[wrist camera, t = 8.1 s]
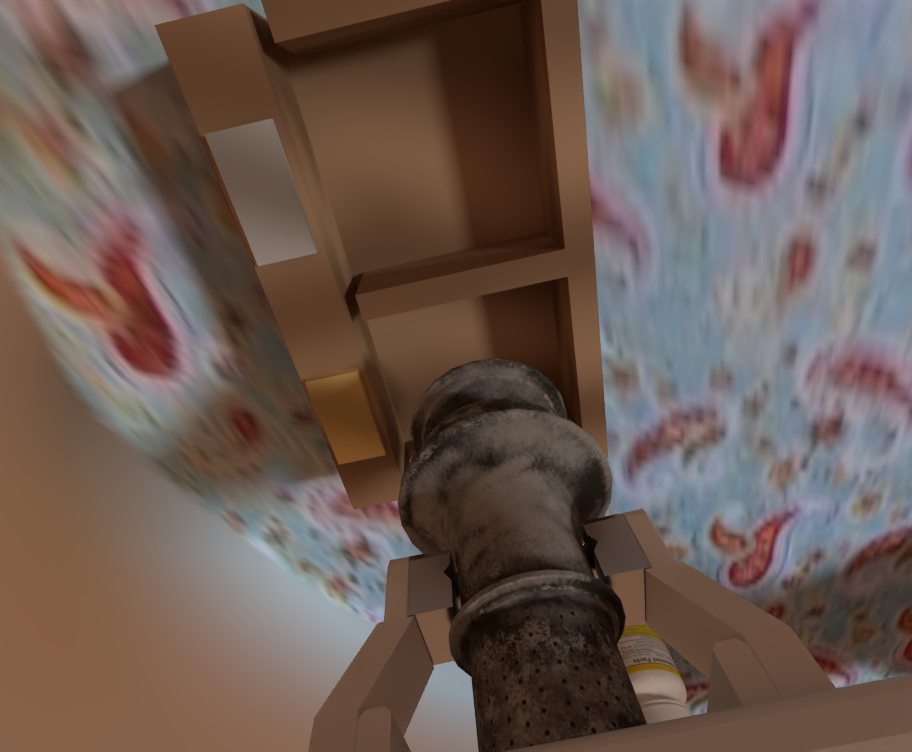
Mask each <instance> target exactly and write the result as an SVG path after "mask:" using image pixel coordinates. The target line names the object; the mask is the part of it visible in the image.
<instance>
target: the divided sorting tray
mask: <svg viewBox="0 0 912 752" xmlns="http://www.w3.org/2000/svg"><path fill="white" fill-rule="evenodd" d="M261 1H262V4H263V8H264V11H265V14H266V17H267V19H265V18H264V17H262V16H261V15H259V14H258V13H256V12H255V11H253V10H252V9H250V8H249V7H247V6H246V5H244V4H239V5H235V6H231V7H227V8H223V9H219V10H215V11H211V12H206V13H202V14H198V15H194V16H190V17H186V18H182V19H178V20H174V21H170V22H166V23H162V24H158V25H155V27H156V30H157V32H158V35H159V37H160V40H161V42H162V45H163V47H164V49H165V52H166V54H167V57H168V59H169V62H170V64H171V66H172V69H173V71H174V74H175V76H176V79H177V81H178V83H179V86H180V88H181V91H182V93H183V96H184V98H185V100H186V103H187V105H188V108H189V110H190V113H191V115H192V117H193V120H194V122H195V125H196V127H197V130H198V132H199V134H200V137H201V139H202V142H203V144H204V147H205V149H206V151H207V154H208V156H209V159H210V161H211V164H212V166H213V168H214V171H215V173H216V176H217V178H218V181H219V183H220V185H221V188H222V190H223V193H224V195H225V198H226V200H227V202H228V205H229V207H230V210H231V212H232V215H233V217H234V219H235V222H236V224H237V227H238V229H239V232H240V234H241V236H242V239H243V241H244V244H245V246H246V249H247V251H248V253H249V256H250V258H251V261H252V263H253V266H254V268H255V270H256V273H257V275H258V278H259V280H260V283H261V285H262V287H263V290H264V292H265V295H266V297H267V300H268V302H269V304H270V307H271V309H272V312H273V314H274V317H275V319H276V321H277V324H278V326H279V329H280V331H281V334H282V336H283V338H284V341H285V343H286V346H287V348H288V351H289V353H290V355H291V358H292V360H293V363H294V365H295V368H296V370H297V372H298V375H299V377H300V380H301V382H302V385H303V387H304V389H305V392H306V394H307V397H308V399H309V402H310V404H311V406H312V409H313V411H314V414H315V416H316V419H317V421H318V423H319V426H320V428H321V431H322V433H323V436H324V438H325V440H326V443H327V445H328V448H329V450H330V453H331V455H332V457H333V460H334V462H335V465H336V467H337V470H338V472H339V475H340V477H341V479H342V482H343V484H344V487H345V489H346V492H347V494H348V496H349V499H350V501H351V504H352V506H353V509H358V508H362V507H367V506H372V505H377V504H382V503H387V502H392V501H397V500H398V497H399V491H400V484H401V479H402V477H403V475H404V473H405V471H406V469H407V467H408V465H409V459H410V457H411V456H414V455H415V454H416V453H415V451H414V449H413V444H412V438H411V432H410V429H411V423H412V416H413V411H414V409H415V407H416V405H417V403H418V401H419V399H420V397H421V395H422V394H423V393H424V392H425V391H426V389H427V388H428V387H429V386H430V385H431V384H432V383H433V382H434V381H435V380H436V379H437V378H439V377H440V376H442V375H443V374H445V373H446V372H448V371H449V370H451V369H452V368H455V367H458V366H460V365H463V364H466V363H469V362H472V361H476V360H485V359H494V358H496V359H504V360H512V361H518V362H520V363H523V364H525V365H528V366H530V367H533V368H535V369H537V370H538V371H539V372H541V373H542V374H543V375H544V376H546V377H547V378H548V379H550V380H551V381H552V383H553V384H554V386H555V387H556V389H557V390H558V391H559V393H560V394H561V396H562V398H563V402H564V405H565V408H566V412H567V420H570V421H572V422H574V423H575V424H576V425H578V426H579V427H580V428H582V429H583V430H584V431H586V432H587V433H588V434H590V435H591V436H592V437H593V438H594V439H595V441H596V442H597V444H598V445H599V446H600V448H601V449H602V451H603V452H604V454H605V455H606V457H608V448H607V433H606V419H605V404H604V389H603V374H602V360H601V345H600V330H599V315H598V300H597V286H596V271H595V256H594V241H593V227H592V212H591V197H590V182H589V168H588V153H587V138H586V123H585V108H584V94H583V79H582V64H581V49H580V35H579V20H578V5H577V0H261Z"/></svg>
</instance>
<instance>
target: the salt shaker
mask: <svg viewBox="0 0 912 752" xmlns="http://www.w3.org/2000/svg"><path fill="white" fill-rule="evenodd" d="M410 432H411V438H412V444H413V449H414V451H415V453H416V454H415V455H414V456H413V458H412V459H411V461H410V463H409V465H408V467H407V469H406V471H405V473H404V475H403V477H402V479H401V484H400V491H399V497H398V508H399V514H400V519H401V524H402V526H403V528H404V530H405V532H406V533H407V535H408V537H409V538H410V540H411V542H412V544H414V545H415V546H416V547H417V548H418V549H419V550H420V551H421V552H422V553H423V554H426V553H432V552H438V551H443V550H449V549H450V550H451V552H452V555H453V558H454V566H455V571H457V572H458V579H459V590H460V601H461V609H460V610H459V612H458V613H457V615H456V616H455V618H454V619H453V621H452V624H451V628H450V631H449V635H448V638H449V646H450V654H451V655H452V657H453V659H454V660H455V662H456V664H457V665H458V667H460V668H461V669H462V670H464V671H465V672H466V673H467V674H469V675H470V676H471V677H472V687H473V697H474V708H475V718H476V728H477V738H478V749H479V752H503V751H509V750H514V749H519V748H524V747H530V746H535V745H540V744H545V743H551V742H556V741H561V740H566V739H571V738H577V737H582V736H587V735H592V734H598V733H603V732H608V731H614V730H619V729H624V728H629V727H635V726H640V725H645V724H647V722H646V719H645V717H644V714H643V712H642V709H641V706H640V704H639V701H638V698H637V696H636V693H635V691H634V688H633V685H632V683H631V680H630V678H629V675H628V672H627V670H626V667H625V664H624V662H623V659H622V657H621V654H620V651H619V649H618V646H617V643H618V641H619V639H620V638H621V636H622V634H623V632H624V627H625V619H626V615H625V612H624V608H623V605H622V602H621V599H620V598H619V597H618V595H617V594H616V593H615V592H614V591H613V589H612V588H611V587H610V586H608V585H607V584H605V583H603V582H602V581H600V580H598V579H597V578H595V576H594V573H593V571H592V568H591V566H590V563H589V561H588V558H587V555H586V553H585V550H584V548H583V545H582V544H584V540H583V538H582V535H581V529H580V523H581V522H583V521H588V520H592V519H597V518H602V517H604V516H605V513H606V511H607V509H608V506H609V504H610V501H611V494H612V482H613V478H612V474H611V471H610V467H609V463H608V459H607V457H606V455H605V454H604V452H603V451H602V449H601V448H600V446H599V445H598V444H597V442H596V441H595V439H594V438H593V437H592V436H591V435H590V434H588V433H587V432H586V431H584V430H583V429H582V428H580V427H579V426H578V425H576V424H575V423H574V422H572V421H570V420H567V412H566V408H565V405H564V402H563V398H562V396H561V394H560V393H559V391H558V390H557V389H556V387H555V386H554V384H553V383H552V381H551V380H550V379H548V378H547V377H546V376H544V375H543V374H542V373H541V372H539V371H538V370H537V369H535V368H533V367H530V366H528V365H525V364H523V363H520V362H518V361H512V360H504V359H496V358H494V359H485V360H476V361H472V362H469V363H466V364H463V365H460V366H458V367H455V368H452V369H451V370H449V371H448V372H446V373H445V374H443V375H442V376H440V377H439V378H437V379H436V380H435V381H434V382H433V383H432V384H431V385H430V386H429V387H428V388H427V389H426V391H425V392H424V393H423V394H422V395H421V397H420V399H419V401H418V403H417V405H416V407H415V409H414V411H413V416H412V423H411V429H410Z"/></svg>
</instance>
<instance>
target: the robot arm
mask: <svg viewBox="0 0 912 752" xmlns="http://www.w3.org/2000/svg"><path fill="white" fill-rule="evenodd" d="M580 529H581V535H582V538H583V540H584V543H585V544H584V545H583V548H584V550H585V553H586V555H587V558H588V561H589V563H590V566H591V568H592V571H593V573H594V576H595V578H597V579H598V580H600V581H602V582H603V583H605V584H607V585H608V586H610V587H611V588H612V589H613V591H614V592H615V593H616V594H617V595H618V597H619V598H620V599H621V602H622V605H623V608H624V612H625V615H626V619H625V627H627V626H633V625H639V624H645V623H647V626H648V627H649V628H650V629H652V630H653V631H654V632H655V633H656V634H657V635H658V636H660V637H661V638H662V639H663V640H664V641H665V642H666V643H668V644H669V645H670V646H671V647H672V648H673V649H675V650H676V651H677V652H678V653H679V654H680V655H681V656H683V657H684V658H685V659H686V660H687V661H688V662H689V663H691V664H692V665H693V666H694V667H695V668H696V669H697V670H699V671H700V672H701V673H702V674H703V675H704V676H706V677H707V678H708V679H709V680H710V685H709V696H708V707H707V713H703V714H698V715H693V716H688V717H682V718H677V719H672V720H666V721H661V722H656V723H651V724H645V725H640V726H635V727H629V728H624V729H619V730H614V731H608V732H603V733H598V734H592V735H587V736H582V737H577V738H571V739H566V740H561V741H556V742H551V743H545V744H540V745H535V746H530V747H524V748H519V749H514V750H509V751H503V752H912V674H909V675H903V676H898V677H893V678H888V679H882V680H877V681H872V682H867V683H861V684H856V685H851V686H846V687H840V688H835V686H834V685H833V683H832V682H831V681H830V679H829V678H828V677H827V675H826V674H825V673H824V671H823V670H822V669H821V667H820V666H819V665H818V663H817V662H816V661H815V659H814V658H813V656H812V655H811V654H810V652H809V651H808V650H807V648H806V647H805V646H804V644H803V643H802V642H801V640H800V639H799V638H798V636H797V635H796V634H795V632H794V631H793V629H792V628H791V627H790V626H789V625H787V624H786V623H784V622H782V621H781V620H779V619H777V618H776V617H774V616H772V615H771V614H769V613H767V612H766V611H764V610H762V609H761V608H759V607H757V606H756V605H754V604H752V603H751V602H749V601H747V600H746V599H744V598H742V597H741V596H739V595H737V594H735V593H734V592H732V591H730V590H729V589H727V588H725V587H724V586H722V585H720V584H719V583H717V582H715V581H714V580H712V579H710V578H709V577H707V576H705V575H704V574H702V573H700V572H699V571H697V570H695V569H694V568H692V567H690V566H689V565H687V564H685V563H684V562H680V563H676V562H675V560H674V558H673V557H672V555H671V553H670V552H669V550H668V548H667V547H666V545H665V543H664V541H663V540H662V538H661V536H660V535H659V533H658V531H657V530H656V528H655V526H654V525H653V523H652V521H651V520H650V518H649V516H648V515H647V513H646V512H645V511H644V510H643V509H640V510H635V511H631V512H626V513H622V514H615V515H611V516H606V517H602V518H597V519H592V520H588V521H583V522H581V523H580ZM460 609H461V601H460V590H459V579H458V572H457V571H455V566H454V558H453V555H452V552H451V550H450V549H449V550H443V551H438V552H432V553H426V554H421V555H415V556H410V557H406V558H400V559H395V560H390V562H389V565H388V571H387V585H386V600H385V614H384V622H380V623H378V624H377V625H376V627H375V628H374V630H373V631H372V633H371V634H370V636H369V637H368V639H367V640H366V642H365V643H364V645H363V646H362V648H361V649H360V651H359V652H358V654H357V655H356V656H355V658H354V659H353V661H352V662H351V664H350V665H349V667H348V668H347V670H346V671H345V673H344V674H343V676H342V677H341V679H340V680H339V682H338V683H337V685H336V686H335V688H334V689H333V691H332V692H331V694H330V695H329V697H328V698H327V700H326V701H325V703H324V704H323V706H322V707H321V709H320V710H319V712H318V713H317V714H316V716H315V718H314V723H313V728H312V734H311V739H310V745H309V751H308V752H411V751H410V749H409V747H408V745H407V743H406V741H405V739H404V737H403V736H404V734H405V732H406V730H407V727H408V725H409V723H410V720H411V718H412V716H413V714H414V712H415V709H416V707H417V705H418V702H419V700H420V698H421V696H422V694H423V691H424V689H425V686H426V685H427V682H428V680H429V678H430V676H431V673H432V671H433V669H434V667H433V665H436V664H441V663H445V662H450V661H454V659H453V657H452V655H451V654H450V646H449V638H448V635H449V631H450V628H451V624H452V621H453V619H454V618H455V616H456V615H457V613H458V612H459V610H460Z"/></svg>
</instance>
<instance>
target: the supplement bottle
mask: <svg viewBox="0 0 912 752" xmlns="http://www.w3.org/2000/svg"><path fill="white" fill-rule="evenodd" d="M617 646H618V649H619V651H620V654H621V657H622V659H623V662H624V664H625V667H626V670H627V672H628V675H629V678H630V680H631V683H632V685H633V688H634V691H635V693H636V696H637V698H638V701H639V704H640V706H641V709H642V712H643V714H644V717H645V719H646V722H647V724H651V723H656V722H661V721H666V720H672V719H677V718H682V717H688V716H692V714H691V712H690V711H689V709H688V708H687V706H686V705H685V703H686V698H687V693H686V688H685V685H684V682H683V680H682V678H681V676H680V674H679V672H678V670H677V668H676V666H675V663H674V661H673V659H672V657H671V655H670V653H669V651H668V649H667V647H666V645H665V643H664V641H663V639H662V638H661V637H660V636H658V635H657V634H656V633H655V632H654V631H653V630H652V629H650V628H649V627H648V626H647V623H645V624H639V625H633V626H627V627H624V632H623V634H622V636H621V638H620V639H619V641H618V643H617Z"/></svg>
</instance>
